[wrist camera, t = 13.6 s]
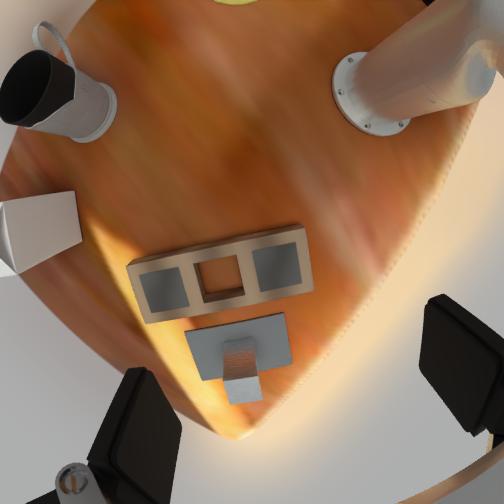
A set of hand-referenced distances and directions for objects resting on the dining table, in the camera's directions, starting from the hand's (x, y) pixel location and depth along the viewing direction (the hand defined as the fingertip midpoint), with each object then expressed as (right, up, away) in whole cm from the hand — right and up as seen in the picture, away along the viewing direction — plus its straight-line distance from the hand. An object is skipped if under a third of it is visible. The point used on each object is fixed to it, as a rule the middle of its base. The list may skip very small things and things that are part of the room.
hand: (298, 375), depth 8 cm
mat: (-3, -10, +31) cm, 33 cm away
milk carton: (-28, +8, +25) cm, 39 cm away
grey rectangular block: (-3, -10, +31) cm, 33 cm away
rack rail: (-6, +1, +28) cm, 29 cm away
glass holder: (-24, +25, +21) cm, 41 cm away
